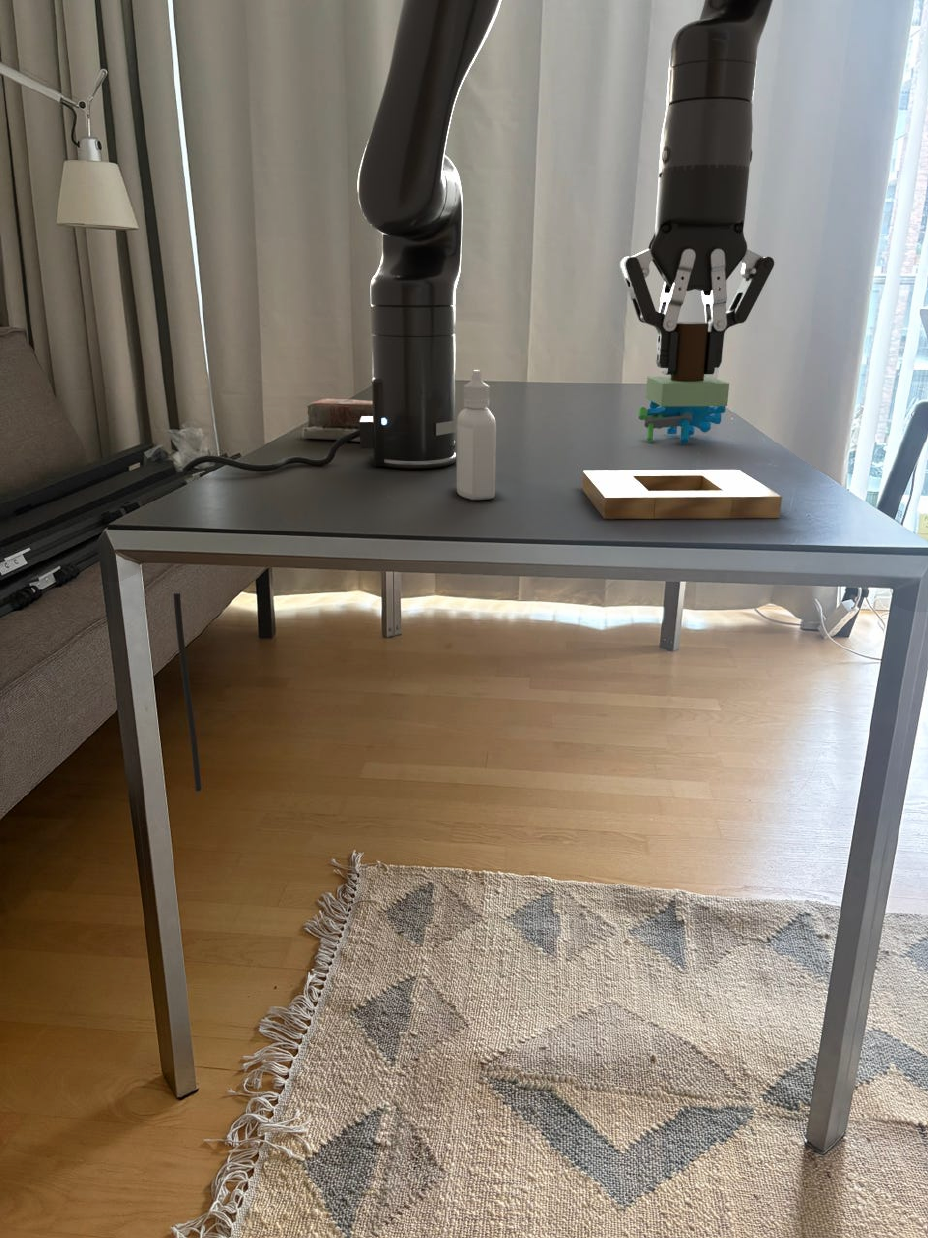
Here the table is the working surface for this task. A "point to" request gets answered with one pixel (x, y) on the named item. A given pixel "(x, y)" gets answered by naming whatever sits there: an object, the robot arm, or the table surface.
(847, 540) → the table surface
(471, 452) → the eye dropper bottle
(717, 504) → the wooden board
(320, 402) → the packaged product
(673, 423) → the gear
